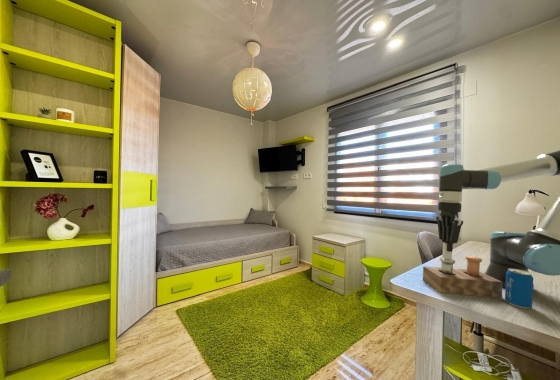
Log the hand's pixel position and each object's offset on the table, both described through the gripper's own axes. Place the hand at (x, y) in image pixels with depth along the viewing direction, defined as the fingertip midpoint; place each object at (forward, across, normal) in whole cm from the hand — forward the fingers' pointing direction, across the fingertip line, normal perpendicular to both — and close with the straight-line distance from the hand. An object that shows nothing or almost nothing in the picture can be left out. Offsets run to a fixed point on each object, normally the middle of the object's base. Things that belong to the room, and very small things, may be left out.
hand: (446, 258), depth 89 cm
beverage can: (+12, +11, +17) cm, 24 cm away
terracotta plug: (+6, 0, +10) cm, 12 cm away
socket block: (+12, 0, +5) cm, 13 cm away
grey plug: (+7, 0, 0) cm, 7 cm away
